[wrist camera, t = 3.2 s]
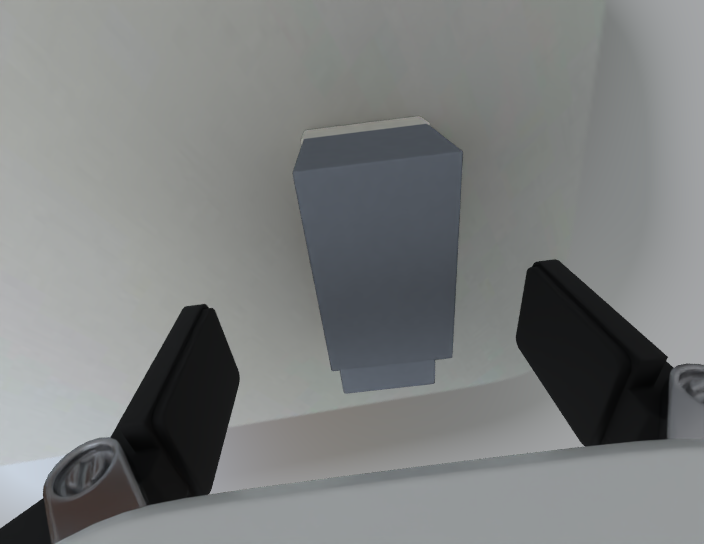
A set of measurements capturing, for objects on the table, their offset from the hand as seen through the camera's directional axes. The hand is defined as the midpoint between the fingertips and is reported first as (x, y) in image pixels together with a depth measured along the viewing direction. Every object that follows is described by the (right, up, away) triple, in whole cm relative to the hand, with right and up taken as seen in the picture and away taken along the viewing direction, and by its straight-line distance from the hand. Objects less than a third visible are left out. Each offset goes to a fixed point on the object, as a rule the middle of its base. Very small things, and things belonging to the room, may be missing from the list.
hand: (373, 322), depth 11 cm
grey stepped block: (0, +2, +5) cm, 6 cm away
